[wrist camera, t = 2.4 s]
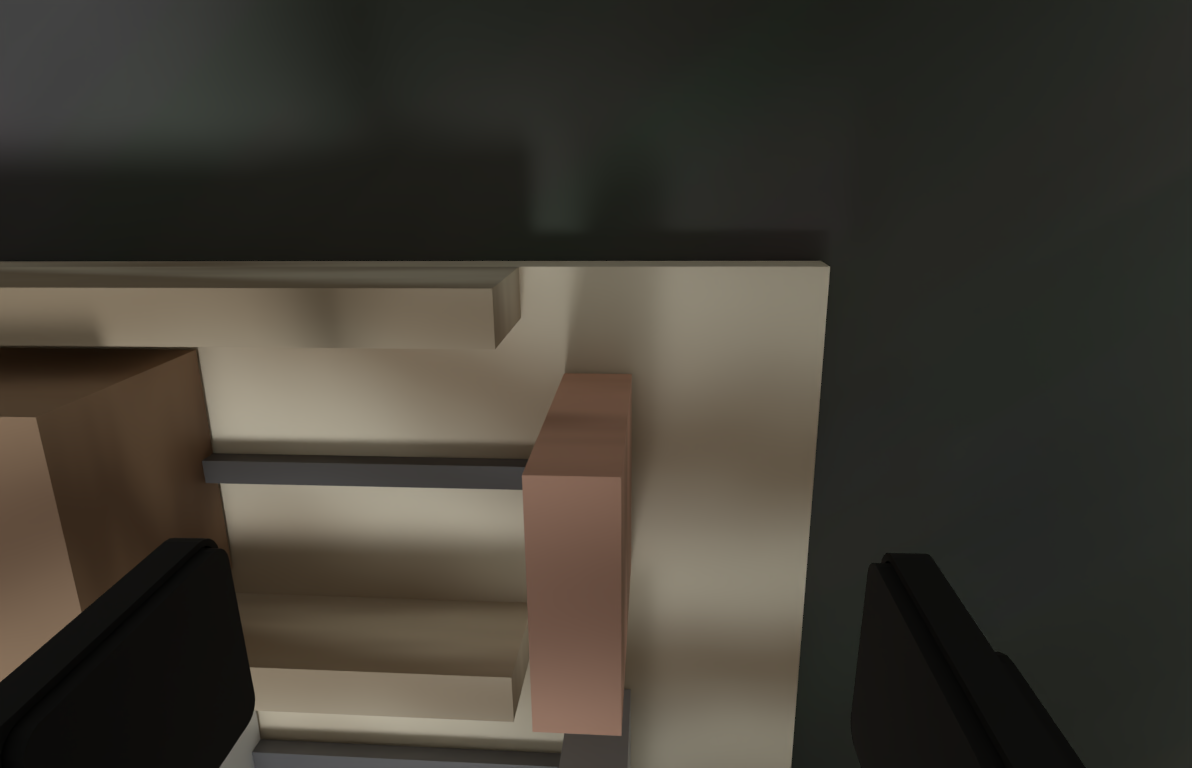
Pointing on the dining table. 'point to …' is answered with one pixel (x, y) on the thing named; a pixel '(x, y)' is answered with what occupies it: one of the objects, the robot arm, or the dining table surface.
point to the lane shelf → (488, 516)
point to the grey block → (429, 753)
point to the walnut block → (192, 472)
